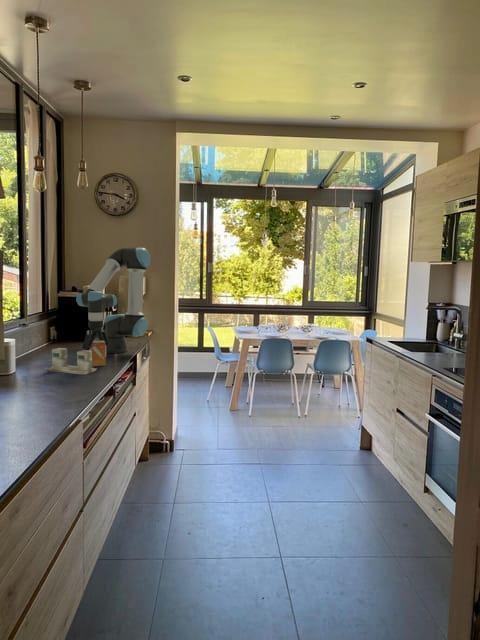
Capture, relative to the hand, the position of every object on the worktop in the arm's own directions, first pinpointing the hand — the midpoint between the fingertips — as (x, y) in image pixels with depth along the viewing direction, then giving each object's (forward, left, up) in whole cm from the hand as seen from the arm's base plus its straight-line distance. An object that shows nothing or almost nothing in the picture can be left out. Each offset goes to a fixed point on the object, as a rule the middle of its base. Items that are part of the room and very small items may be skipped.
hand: (96, 359), depth 238 cm
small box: (0, 0, -4) cm, 4 cm away
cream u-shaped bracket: (+15, -4, -3) cm, 16 cm away
